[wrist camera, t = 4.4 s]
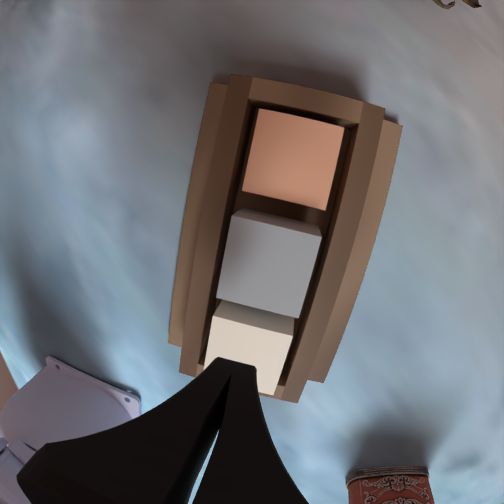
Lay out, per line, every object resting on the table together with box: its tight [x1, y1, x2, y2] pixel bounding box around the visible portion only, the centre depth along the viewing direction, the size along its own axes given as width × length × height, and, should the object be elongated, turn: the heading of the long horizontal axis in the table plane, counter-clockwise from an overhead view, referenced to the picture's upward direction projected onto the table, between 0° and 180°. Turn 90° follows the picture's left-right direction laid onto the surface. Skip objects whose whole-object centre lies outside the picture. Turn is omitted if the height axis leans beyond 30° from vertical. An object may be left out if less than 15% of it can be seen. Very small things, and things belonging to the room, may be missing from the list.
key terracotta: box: [242, 108, 344, 210], centre depth 14 cm, size 4×4×2 cm
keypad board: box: [168, 74, 403, 403], centre depth 16 cm, size 10×15×3 cm, turn 168°
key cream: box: [203, 299, 294, 395], centre depth 15 cm, size 4×4×2 cm
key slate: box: [216, 208, 322, 318], centre depth 14 cm, size 4×4×2 cm
